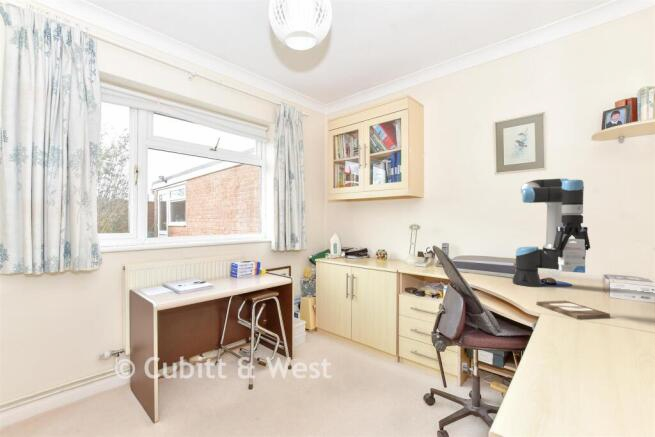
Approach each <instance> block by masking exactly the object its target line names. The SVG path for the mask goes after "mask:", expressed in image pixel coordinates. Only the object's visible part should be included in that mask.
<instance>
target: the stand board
mask: <svg viewBox="0 0 655 437" xmlns="http://www.w3.org/2000/svg"><path fill="white" fill-rule="evenodd" d="M535 304H536V305H537V306H539V307H541V308H545V309H547V310H549V311H550V310H551V311H553V312H556V313H558V314H561V315H564V316H567V317H570V318H572V317H573V318H572V319H576V320H585V319H603V318H606V319H607V318H611V313H608V312H606V311H602V310H598V309H595V308H592V307H589V306H585V305H582V304H579V303H575V302H571V301H569V300H565V299H564V300H544V301H536V303H535Z"/></svg>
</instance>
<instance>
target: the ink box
mask: <svg viewBox="0 0 655 437" xmlns="http://www.w3.org/2000/svg"><path fill="white" fill-rule="evenodd" d="M564 250H565V265H560V264H559V270H558V271H560V272H564V273H567V272H568V273H582V274H585V273H586V256H585V240H584V239H575V238H569V239H568V241H567V244H566V246H565V248H564Z"/></svg>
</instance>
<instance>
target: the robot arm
mask: <svg viewBox="0 0 655 437" xmlns="http://www.w3.org/2000/svg"><path fill="white" fill-rule="evenodd" d="M584 189H585V186H584V181H583V180H582V179H569V178H548V179H547V178H545V179H533V180H530V181H527V182H526V183H524V184H523V185H522V186H521V188H520V193H521V200H522V202H523V203H525V204H533V203H534V204H536V203H537V204H538V203H539V204H540V203H544V204H546V226H545V227H546V230H545V237H546V238H545V244H544V245H543V246H542V248H539V246H520V247H517V248H516V249H515V271H514V275H513V277H512V279H511V282H513V284H514V283H515V285H520V286H524V287H541V286H542V280H541V279H540V275H539V269H546V270H556V271H557V270H558V271H560V270H559V264H560V265H565V250H564V248H565V246H566V244H567V241H568V239H570V238H571V237H573V239H584V240H585V257H587V255H586V253H587V251H589V249H591V244H590V239H589V234H588V227H587V226H582V224H583V223H584V215H583V214H584V192H585V191H584Z"/></svg>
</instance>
